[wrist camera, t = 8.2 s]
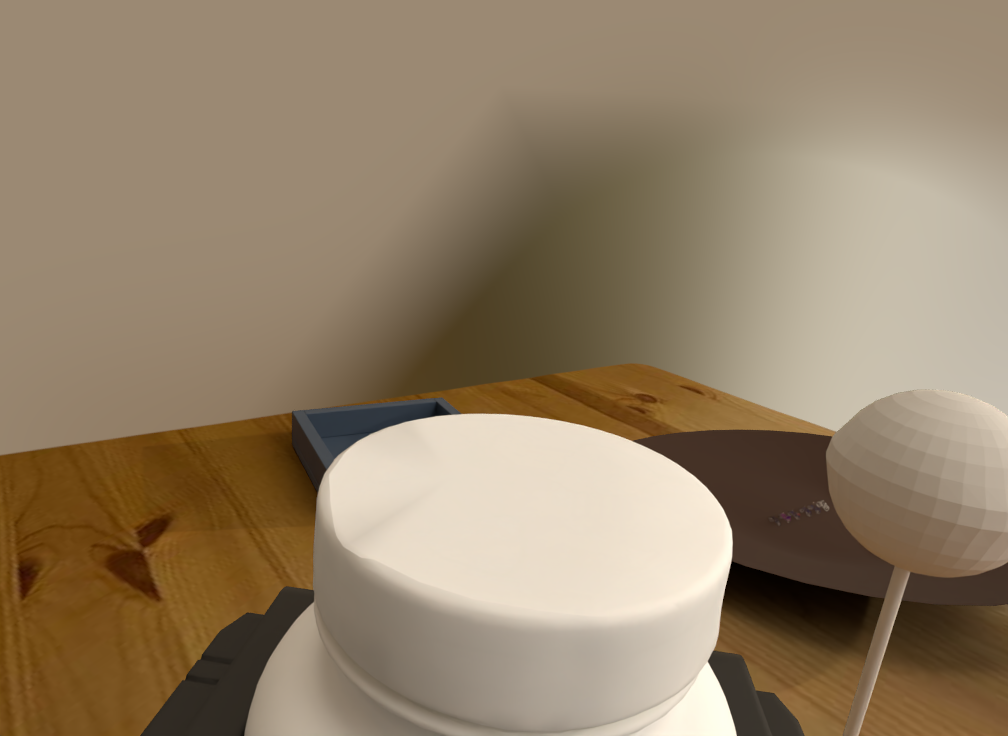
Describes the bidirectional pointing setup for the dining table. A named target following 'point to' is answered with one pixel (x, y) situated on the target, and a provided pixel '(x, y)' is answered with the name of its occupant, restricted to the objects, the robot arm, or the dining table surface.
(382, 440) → the pill bottle
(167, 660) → the dining table surface
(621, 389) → the dining table surface
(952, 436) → the lollipop
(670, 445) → the plate
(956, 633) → the dining table surface
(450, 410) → the tray
